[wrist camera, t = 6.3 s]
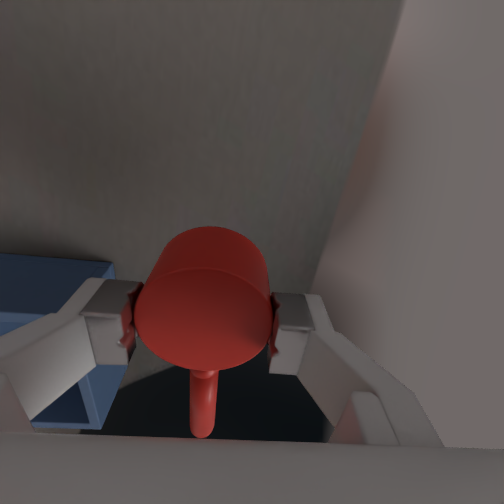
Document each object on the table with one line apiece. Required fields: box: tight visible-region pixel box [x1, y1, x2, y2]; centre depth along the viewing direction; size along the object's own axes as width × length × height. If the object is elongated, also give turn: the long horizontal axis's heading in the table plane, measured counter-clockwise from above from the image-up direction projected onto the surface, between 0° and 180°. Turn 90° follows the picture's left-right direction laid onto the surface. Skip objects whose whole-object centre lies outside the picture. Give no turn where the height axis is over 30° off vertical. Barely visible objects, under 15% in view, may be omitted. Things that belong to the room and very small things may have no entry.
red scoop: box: [134, 226, 273, 438], centre depth 10 cm, size 9×4×3 cm, turn 174°
